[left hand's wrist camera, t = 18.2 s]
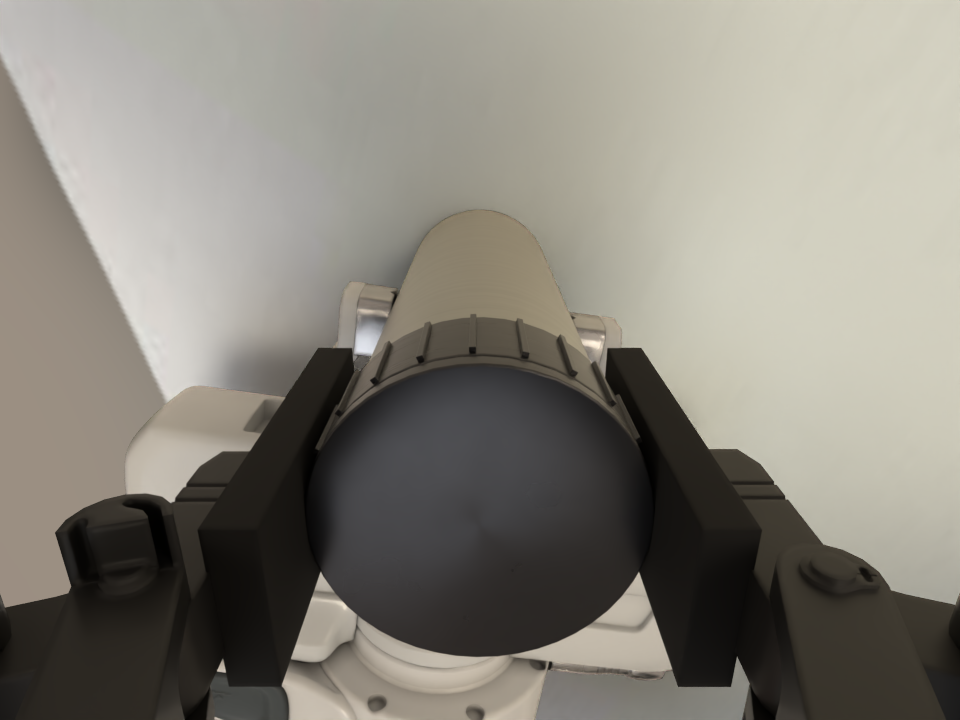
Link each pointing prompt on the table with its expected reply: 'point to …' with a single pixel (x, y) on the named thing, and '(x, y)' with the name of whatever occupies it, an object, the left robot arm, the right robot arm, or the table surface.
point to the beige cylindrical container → (479, 279)
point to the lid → (479, 490)
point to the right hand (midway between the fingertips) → (482, 304)
